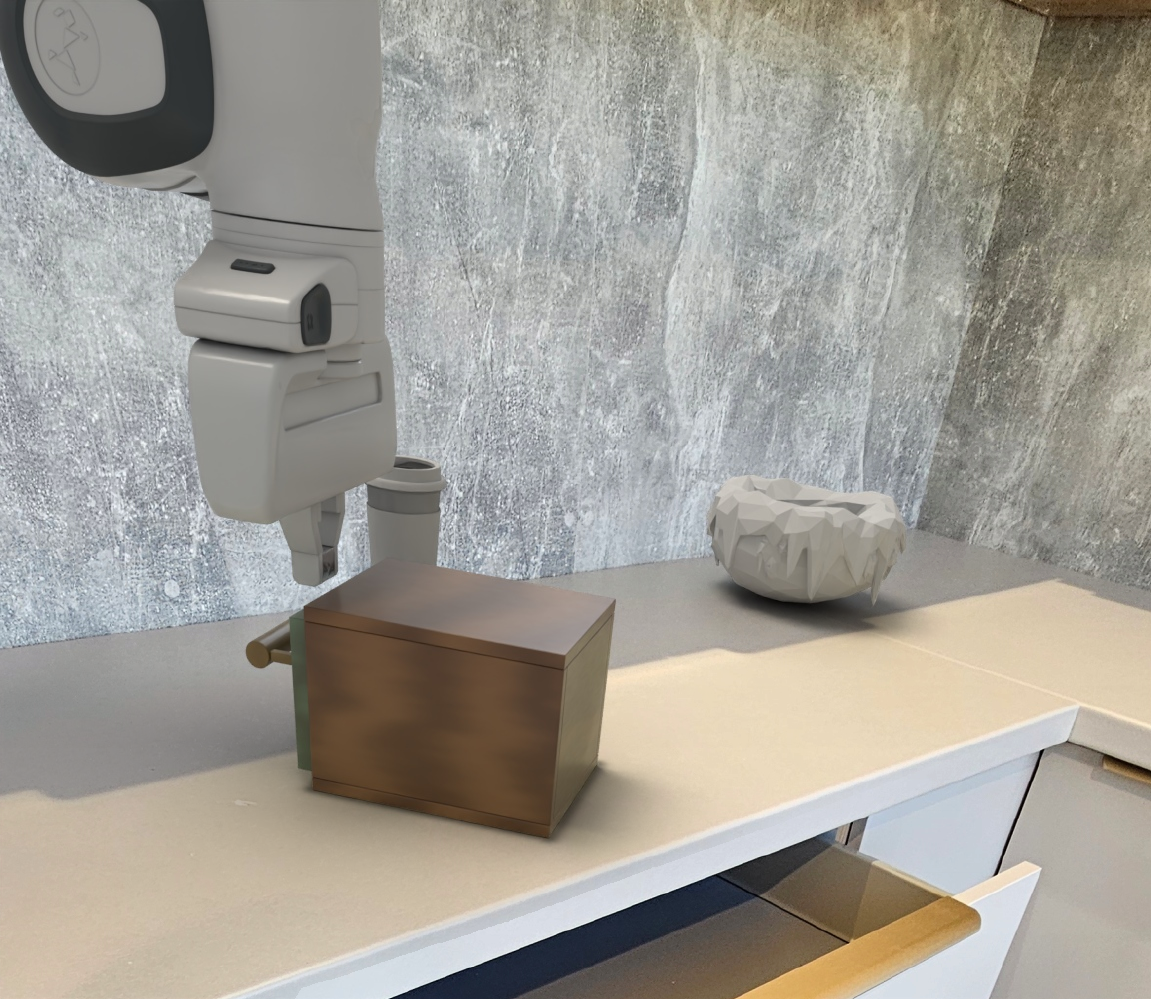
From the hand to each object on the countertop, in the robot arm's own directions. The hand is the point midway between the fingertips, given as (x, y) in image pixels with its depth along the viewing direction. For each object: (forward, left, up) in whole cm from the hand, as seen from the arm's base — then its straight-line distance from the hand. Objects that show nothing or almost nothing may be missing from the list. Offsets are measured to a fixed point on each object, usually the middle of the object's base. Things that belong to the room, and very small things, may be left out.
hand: (316, 580), depth 71 cm
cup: (-5, +30, -10) cm, 32 cm away
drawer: (+6, 0, -9) cm, 11 cm away
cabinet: (+10, 0, -10) cm, 14 cm away
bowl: (+26, +63, -10) cm, 69 cm away
